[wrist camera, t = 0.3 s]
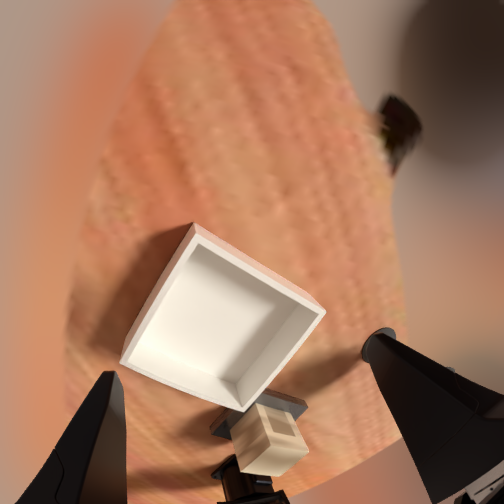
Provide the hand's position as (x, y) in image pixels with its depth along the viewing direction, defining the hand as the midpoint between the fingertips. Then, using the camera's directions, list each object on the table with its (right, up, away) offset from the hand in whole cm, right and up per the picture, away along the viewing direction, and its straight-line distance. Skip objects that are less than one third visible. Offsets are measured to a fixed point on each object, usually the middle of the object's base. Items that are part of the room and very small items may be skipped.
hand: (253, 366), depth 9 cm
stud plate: (+1, -15, +21) cm, 26 cm away
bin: (-3, -2, +16) cm, 17 cm away
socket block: (+1, -15, +20) cm, 25 cm away
